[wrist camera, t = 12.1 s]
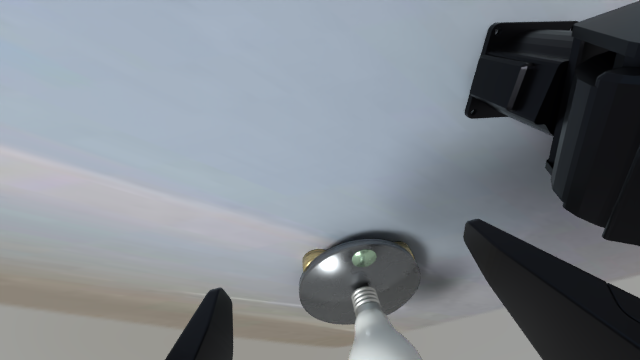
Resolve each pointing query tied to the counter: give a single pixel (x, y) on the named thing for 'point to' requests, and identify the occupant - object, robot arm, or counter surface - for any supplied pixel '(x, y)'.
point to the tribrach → (357, 278)
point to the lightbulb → (376, 331)
